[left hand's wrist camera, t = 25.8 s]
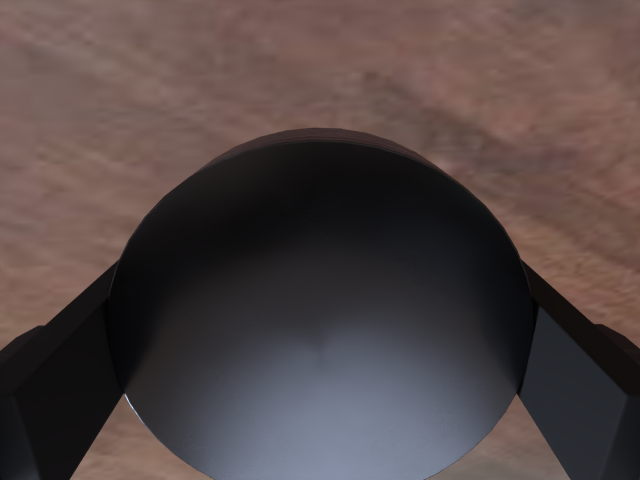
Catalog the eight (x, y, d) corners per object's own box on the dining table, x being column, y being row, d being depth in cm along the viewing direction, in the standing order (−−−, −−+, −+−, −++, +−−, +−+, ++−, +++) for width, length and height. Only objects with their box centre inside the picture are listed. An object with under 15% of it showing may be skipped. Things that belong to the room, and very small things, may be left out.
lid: (274, 481, 15) (266, 548, 13) (67, 256, 12) (11, 295, 10) (549, 353, 13) (594, 407, 11) (390, 41, 10) (409, 31, 8)
